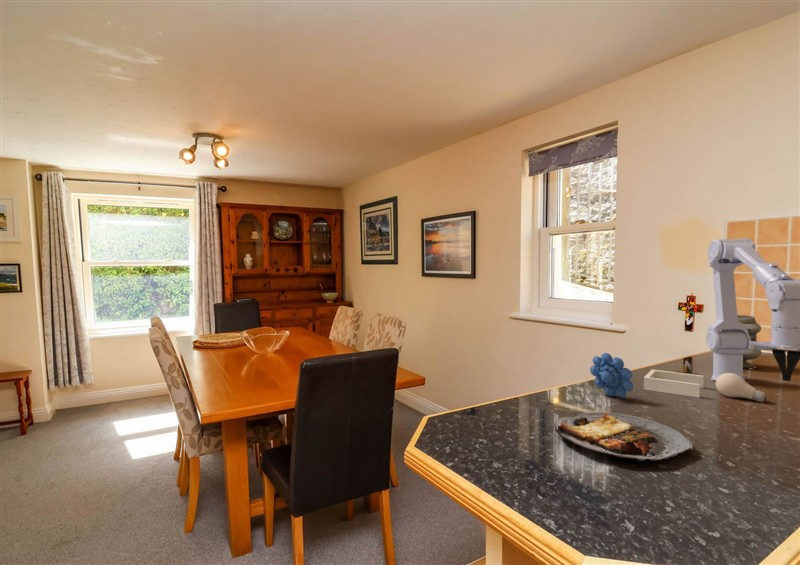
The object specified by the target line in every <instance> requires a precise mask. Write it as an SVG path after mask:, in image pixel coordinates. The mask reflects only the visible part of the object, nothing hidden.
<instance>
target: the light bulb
mask: <svg viewBox="0 0 800 565" xmlns="http://www.w3.org/2000/svg"><path fill="white" fill-rule="evenodd" d="M715 387H716V390H717V391H718V392H720V394H722V395H723V396H725V397H729V398H742V399H748V400H754V401H756V402H759V403H762V402H764V401H766V400H767V395H766V393H765V392H764V391H761V390H759V389H756V388H755V387H754V386H751V385H750V384H749V383H748V382H747V381H746V380H745V381H744V380H743V379H742V378H741V377H740V376H738V375H736V374H733V373H724V374H722V375H720V376H719V377H718V378H717V379H716V381H715Z"/></svg>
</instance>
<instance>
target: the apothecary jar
mask: <svg viewBox="0 0 800 565" xmlns="http://www.w3.org/2000/svg"><path fill="white" fill-rule="evenodd" d="M737 317H738V321H739V322H740V323H742V324H743V325H745V326H746V327H747V330H748V334H749V336H750V339H751V341H756V342H758V340H757V339H758V338H757V334H759V333H760V332H761V330H762V327H761V325H760V324H759V323H758V322H757V320H756V317H755V316H752V315H746V314H737ZM720 331H734V330H732V329H722V330H720ZM761 355H762V350H758V349H754V350H753V349H748V350H747V351H746V353H743V368H754V367H755V366H756V365H755V364H752V363H750V362H747V361H749V360H755V359H758V358H759V357H760V356H761Z"/></svg>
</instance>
